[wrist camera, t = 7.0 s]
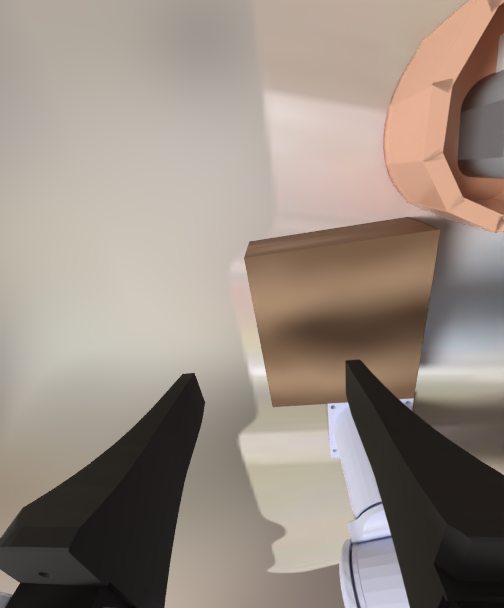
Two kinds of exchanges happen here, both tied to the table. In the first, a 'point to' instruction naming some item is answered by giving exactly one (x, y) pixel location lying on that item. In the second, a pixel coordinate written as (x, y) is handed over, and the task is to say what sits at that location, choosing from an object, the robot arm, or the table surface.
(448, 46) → the bowl
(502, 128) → the connector
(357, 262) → the board
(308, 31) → the table surface
